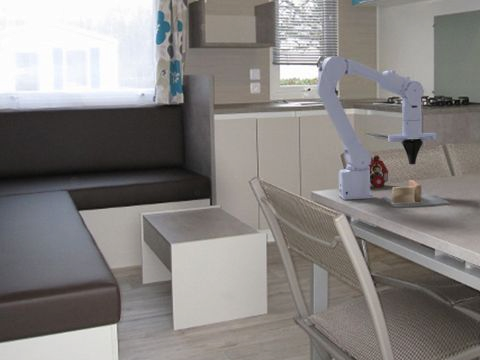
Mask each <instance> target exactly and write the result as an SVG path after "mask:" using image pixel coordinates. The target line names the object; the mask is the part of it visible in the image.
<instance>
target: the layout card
mask: <svg viewBox="0 0 480 360" xmlns="http://www.w3.org/2000/svg"><path fill="white" fill-rule="evenodd" d="M381 200H383V201H385V202H386V203H387V204H389V205H390V206H391V207H393V208H409V207H426V206H430V207H431V206H442V205H444V206H445V205H447V206H449V205H451V204H450V203H451V202H449V201H447V200H446V199H444V198H441V197H439V196H438V195H437V194H436V195H435V194H434V193H433V194H429V193H428V194H421V202H407V203H393V201H392V196H381Z"/></svg>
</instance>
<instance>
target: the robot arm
mask: <svg viewBox="0 0 480 360" xmlns="http://www.w3.org/2000/svg"><path fill="white" fill-rule="evenodd" d="M317 72H318V77H317V85H316V92H317V94H318V96H319V98H320V101H321V102H322V105H323V106H324V109H325V110H326V113H327V115H328V117H329V119H330V121H331V123H332V125H333V127H334V129H335V131H336V133H337V135H338V137H339V140H340V142H341V145H342V148H343V150H344V160H345V162H346V163H347V164H346V167H345V168H344V169H340V170H339V171H338V196H339V197H340V198H341V199H342V200H343V201H344V200H359V199H360V200H361V199H374V198H375V196H374V195H373V194H371V183H370V166H368V165H369V164H370V162H371V157H372V155H371V152H370V151H369V150H368V149H366V148H365V147H364V145H363V143H362V142H361V141H360V139H359V137H358V136H357V134H356V132H355V130H354V127H353V126H352V124H351V122H350V119H349V118H348V115H347V114H346V112H345V109H344V108H343V105H342V103H341V100H340V98H339V97H338V95H337V93H336V91H335V90H336V87H337V86H338V83H339V81H340V79H342V77H343V76H344V75H353V74H354V75H357V76H360V77H361V78H362V77H363V78H365V79H368V80H371V81H373V82H376V83H377V84H378V87H379V88H380V89H381V90H385V91H387V92H389V93H392V94H394V95H396V96H400V97H401V98H402V100H401V101H402V104H401V113H402V114H401V116H402V117H401V118H402V123H401V124H402V125H401V127H402V132H401V134H400V133H399V134H391V135H390V134H389V135H387V142H388V143H393V142H401V144H402V146H403V148H404V151H405V153H406V156H407V159H408V164H409V165H416V161H417V157H418V154H419V152H420V149H421V148H422V146H423V141H427V140H429V141H431V140H432V141H436V140H437V133H435V132H426V133H425V132H422V97H423V96H424V93H425V89H424V87H423V85H422V83H421V82H419V81H417V80H411V78H410V76H403V75H400V74H397V73H396V70H393V69H391V70H385V71H379V70H378V69H374V68H372V67H370V66H367V65H365V64H364V63H361V62H358V61H357V60H353V59H349V58H344V57H342V56H339V55H336V56H335V55H334V56H327V57H325V58H324V59H323V60H322V61H321V63H320V66H319V67H318V70H317Z"/></svg>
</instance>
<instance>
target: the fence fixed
mask: <svg viewBox="0 0 480 360" xmlns="http://www.w3.org/2000/svg"><path fill="white" fill-rule="evenodd" d="M391 190H392V192H391V193H392V196H391V197H392V201H393V203H407V202H421V195H422V185H421V184H419V185H414V187H413V186H410V187H409V186H396V187H391Z"/></svg>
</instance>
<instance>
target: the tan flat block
mask: <svg viewBox="0 0 480 360" xmlns="http://www.w3.org/2000/svg"><path fill="white" fill-rule="evenodd" d="M414 185H420V184H419V183H417V181H415V180H411V179H409V180H408V187H410V186H413V187H414Z"/></svg>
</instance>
